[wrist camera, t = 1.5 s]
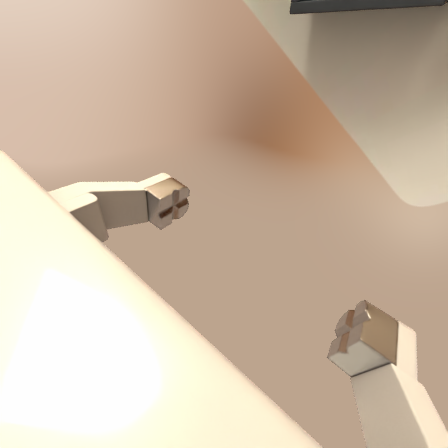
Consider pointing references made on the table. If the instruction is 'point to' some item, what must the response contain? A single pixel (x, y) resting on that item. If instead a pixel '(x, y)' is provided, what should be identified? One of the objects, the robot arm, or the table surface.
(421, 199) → the table surface
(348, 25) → the table surface
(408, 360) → the robot arm
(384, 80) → the table surface
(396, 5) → the dark grey open box
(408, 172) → the table surface
